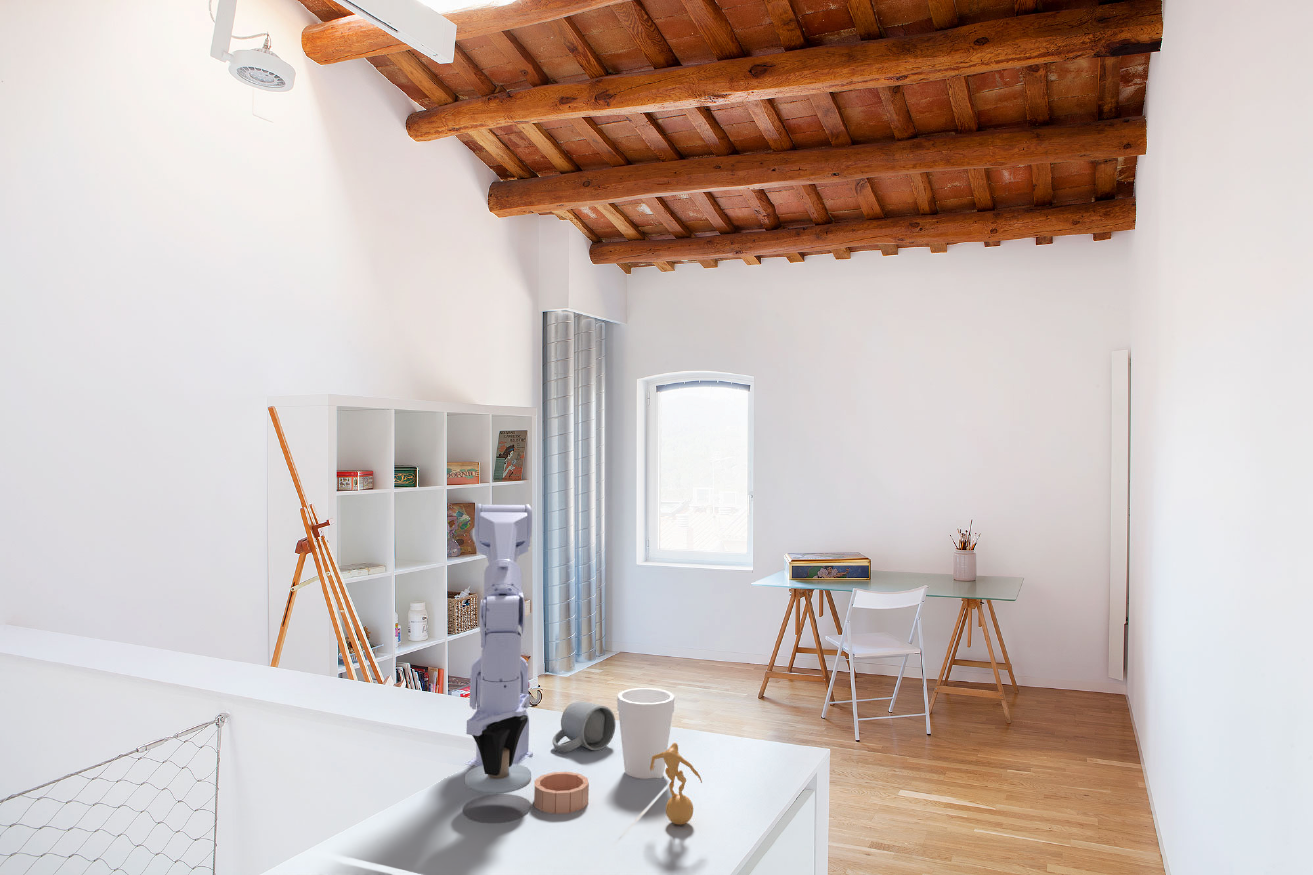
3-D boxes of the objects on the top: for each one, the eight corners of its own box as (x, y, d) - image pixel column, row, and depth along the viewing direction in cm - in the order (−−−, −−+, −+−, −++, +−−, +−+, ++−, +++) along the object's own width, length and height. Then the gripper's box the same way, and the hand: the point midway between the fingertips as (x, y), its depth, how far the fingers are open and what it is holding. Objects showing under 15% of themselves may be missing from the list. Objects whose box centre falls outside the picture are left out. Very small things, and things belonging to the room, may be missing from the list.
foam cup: (639, 760, 142) (640, 684, 142) (683, 772, 136) (684, 694, 137) (604, 776, 134) (606, 697, 134) (650, 790, 128) (651, 707, 129)
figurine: (711, 825, 117) (712, 740, 117) (692, 841, 112) (693, 753, 112) (660, 811, 121) (662, 730, 121) (640, 827, 116) (641, 741, 116)
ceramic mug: (588, 733, 155) (589, 693, 155) (616, 745, 149) (616, 702, 149) (542, 747, 148) (542, 704, 148) (569, 759, 142) (569, 715, 142)
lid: (487, 764, 126) (488, 736, 126) (542, 773, 123) (543, 745, 123) (451, 787, 117) (452, 756, 117) (509, 797, 114) (510, 766, 114)
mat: (486, 793, 126) (486, 789, 126) (543, 804, 123) (543, 800, 123) (448, 819, 117) (448, 815, 117) (509, 832, 113) (509, 827, 113)
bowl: (549, 791, 127) (550, 768, 128) (596, 799, 125) (596, 776, 125) (524, 811, 120) (524, 787, 120) (573, 820, 117) (573, 796, 117)
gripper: (498, 693, 112) (495, 792, 112) (547, 668, 126) (545, 756, 125) (454, 687, 115) (452, 784, 114) (508, 663, 128) (505, 750, 128)
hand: (498, 769), depth 120 cm, fingers closed on lid, 3 cm apart
